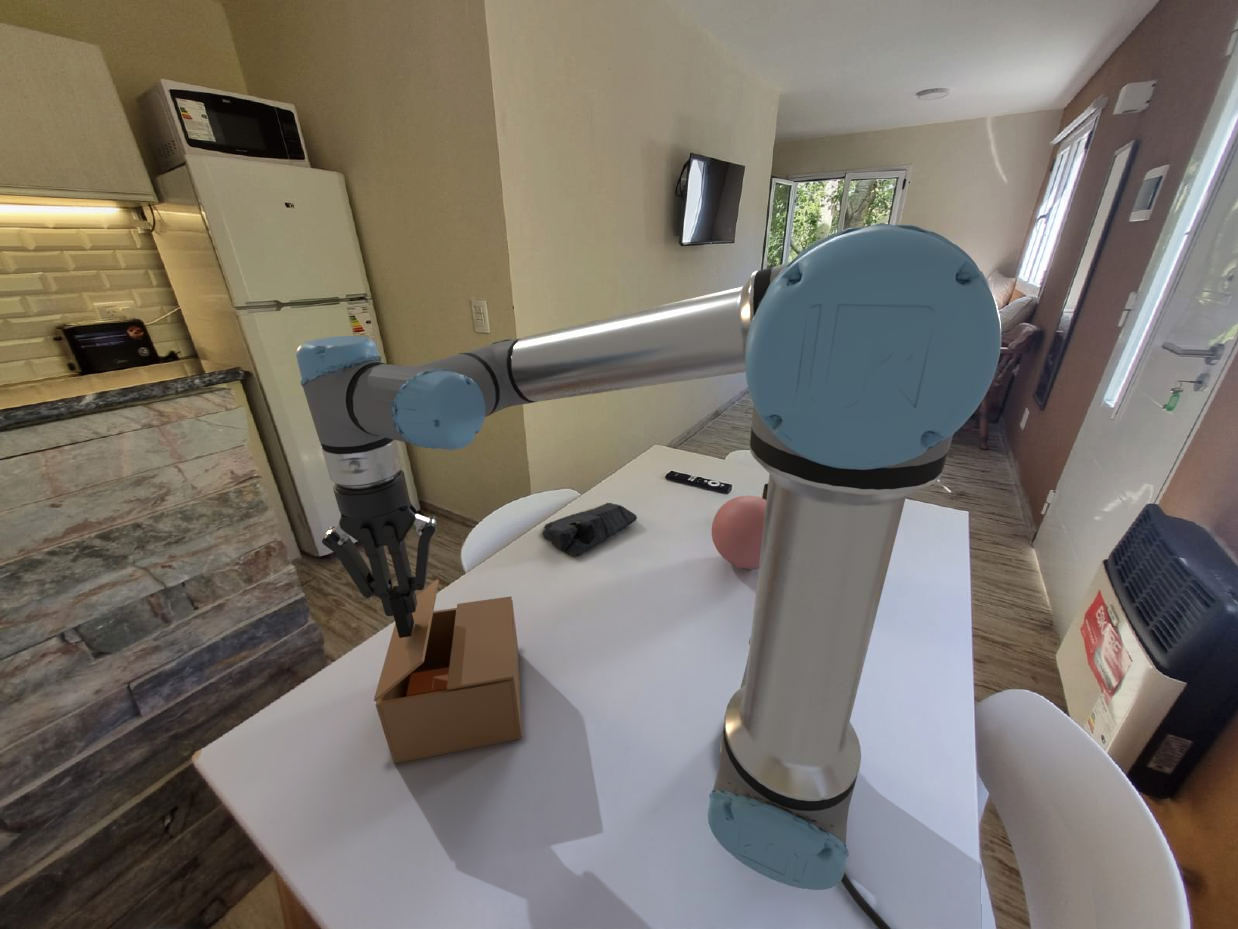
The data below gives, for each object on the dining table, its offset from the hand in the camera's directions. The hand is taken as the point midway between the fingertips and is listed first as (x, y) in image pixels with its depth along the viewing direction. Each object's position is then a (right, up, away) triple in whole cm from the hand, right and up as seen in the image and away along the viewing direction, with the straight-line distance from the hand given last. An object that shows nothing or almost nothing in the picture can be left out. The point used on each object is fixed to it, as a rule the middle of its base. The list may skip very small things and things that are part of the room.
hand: (406, 629), depth 65 cm
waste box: (+5, -14, +8) cm, 17 cm away
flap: (0, -1, +1) cm, 1 cm away
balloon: (+59, +1, +41) cm, 71 cm away
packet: (+2, -14, +7) cm, 15 cm away
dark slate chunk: (+22, +6, +51) cm, 56 cm away
